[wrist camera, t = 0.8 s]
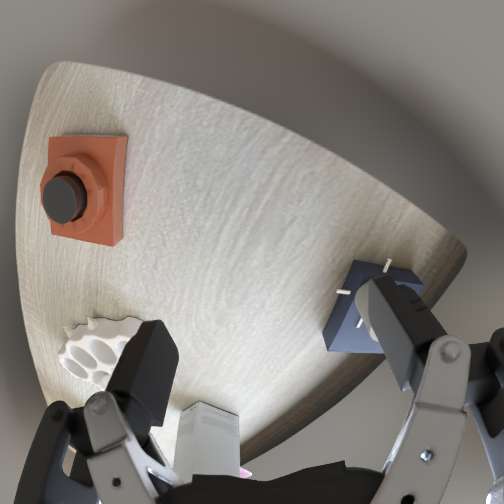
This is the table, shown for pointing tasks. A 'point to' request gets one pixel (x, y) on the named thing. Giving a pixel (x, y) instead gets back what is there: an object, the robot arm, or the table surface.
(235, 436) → the cosmetic box
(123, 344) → the white brass knuckles
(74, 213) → the dark grey short cylinder
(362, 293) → the dial
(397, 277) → the dial panel
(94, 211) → the button base
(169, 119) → the table surface
